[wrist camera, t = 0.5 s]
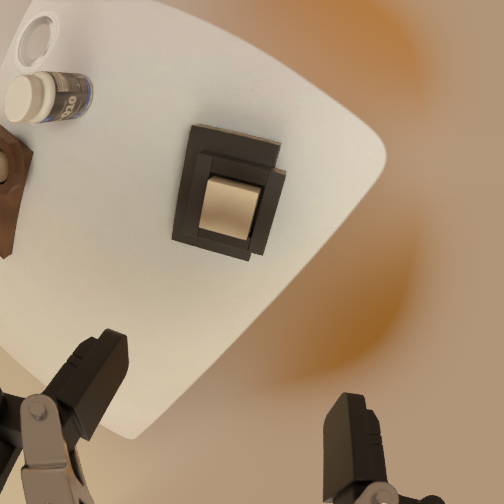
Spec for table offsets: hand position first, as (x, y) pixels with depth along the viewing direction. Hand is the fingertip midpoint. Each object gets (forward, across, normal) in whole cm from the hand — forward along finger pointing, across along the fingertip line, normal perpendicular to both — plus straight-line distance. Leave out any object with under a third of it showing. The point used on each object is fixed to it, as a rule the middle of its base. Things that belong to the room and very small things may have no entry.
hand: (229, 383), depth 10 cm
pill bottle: (+18, +21, -8) cm, 29 cm away
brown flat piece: (+18, +34, +4) cm, 39 cm away
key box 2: (+18, +4, -1) cm, 19 cm away
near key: (+15, +3, -1) cm, 15 cm away
